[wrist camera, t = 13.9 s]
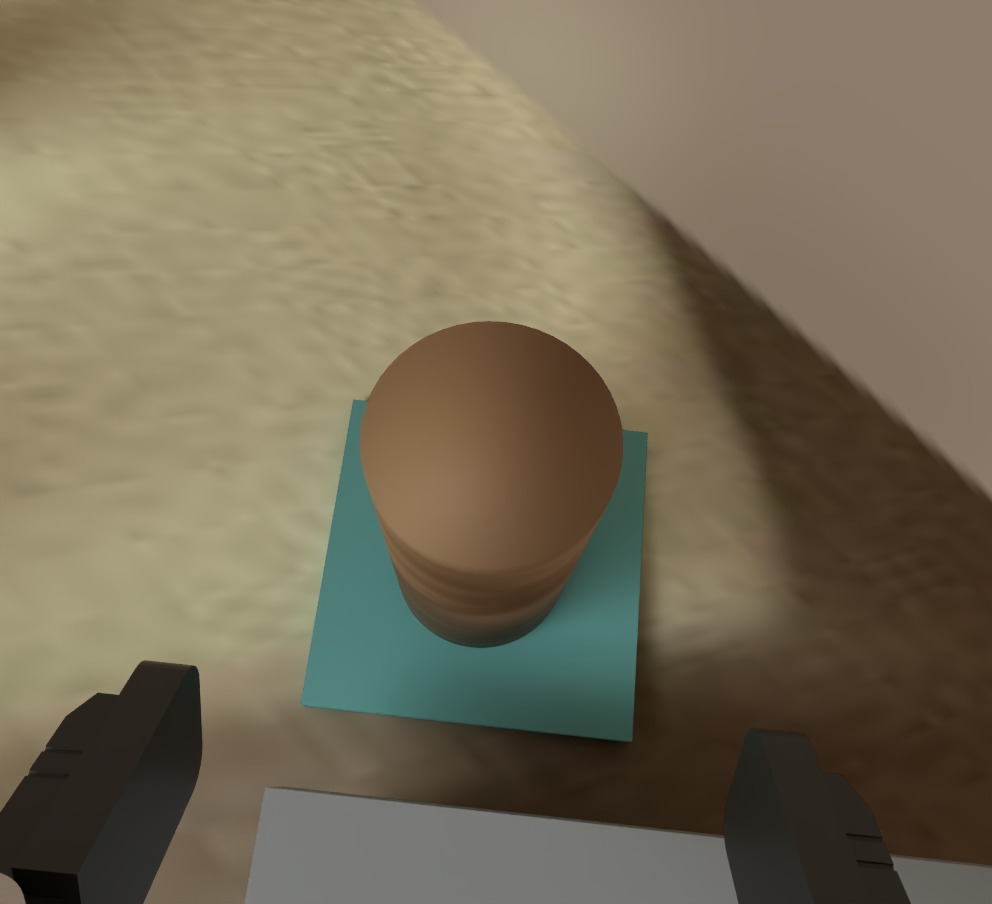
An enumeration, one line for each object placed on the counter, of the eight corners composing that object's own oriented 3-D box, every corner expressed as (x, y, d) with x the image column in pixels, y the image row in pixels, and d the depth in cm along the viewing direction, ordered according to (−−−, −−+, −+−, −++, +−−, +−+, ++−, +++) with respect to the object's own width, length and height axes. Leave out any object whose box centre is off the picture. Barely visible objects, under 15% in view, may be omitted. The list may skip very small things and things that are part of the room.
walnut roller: (385, 637, 25) (338, 552, 16) (409, 474, 27) (380, 307, 17) (557, 657, 25) (615, 583, 16) (571, 493, 27) (630, 336, 17)
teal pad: (304, 706, 25) (300, 704, 24) (355, 407, 28) (353, 399, 27) (628, 742, 25) (632, 741, 24) (643, 439, 28) (647, 432, 27)
